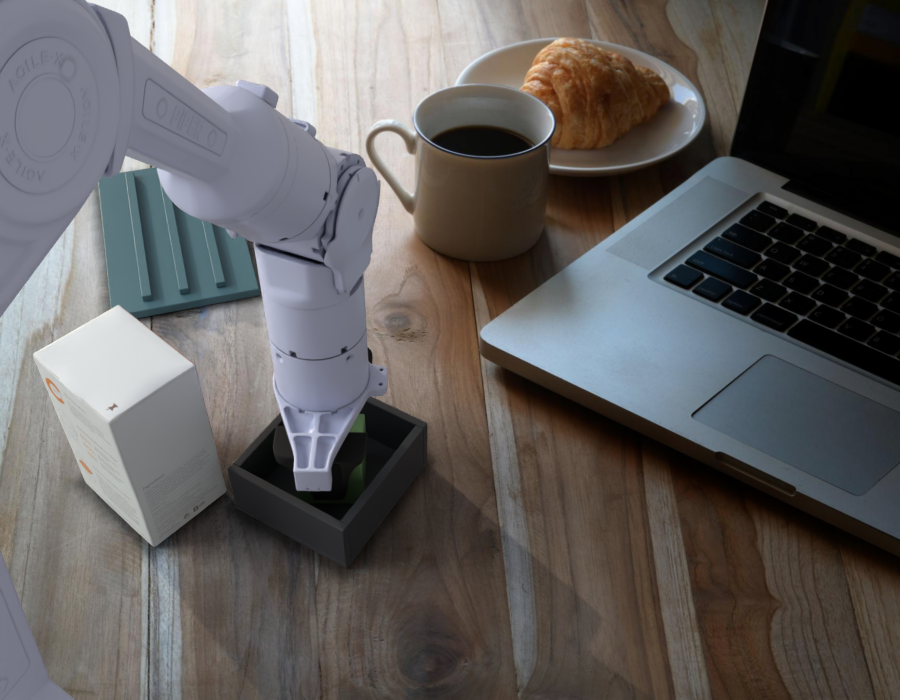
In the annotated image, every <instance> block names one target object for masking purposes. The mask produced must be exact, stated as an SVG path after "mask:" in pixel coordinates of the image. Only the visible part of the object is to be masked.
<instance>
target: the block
mask: <svg viewBox="0 0 900 700" xmlns="http://www.w3.org/2000/svg"><path fill="white" fill-rule="evenodd" d="M349 432H366V429H365V415H364V414H359V415H358V417H357V418H356V420H355V422H354V424H353V425H352V427H351V429H350V431H349ZM366 460H367V445H366V453H365V457H364V459H363V461H362V464H360V465H359V466H357V467H356V468H355V469H354V470H353V471H352V473H351V476H350V479H349V484H348V489H347V492H346V495H345V497H344V499H343V500H315V499H314V498H313V497H312V495H311V494H310V492H309V491H297V493H298V499H300V500H302V501H304V502H306V503H330V504H354V503H355V502H356V501H357V499H358V498H359V497H360V496H361V494H362V493H363V492H364V489H365V474H366Z"/></svg>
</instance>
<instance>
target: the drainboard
mask: <svg viewBox="0 0 900 700" xmlns="http://www.w3.org/2000/svg"><path fill="white" fill-rule="evenodd" d="M97 186H98V187H97V188H98V197H99V207H100V215H101V216H100V217H101V218H100V219H101V226H102V227H101V228H102V237H103V245H104V247H103V248H104V254H105V255H104V256H105V267H106V275H107V285H108V295H109V305H110V306H109V307H110V309H112V308H113V307H115V306H117V305H120V306H121V307H122V308H124V309H125V310H126V311H128V312H129V313H130V314H131V315H133V316H134V317H135V318H137V319H141V318H146V317H153V316H157V315H163V314H169V313H173V312H179V311H184V310H189V309H195V308H199V307H205V306H211V305H215V304H221V303H226V302H227V303H228V302H233V301H236V300H243V299H248V298H253V297H258V296H260V295H261V290H260V286H259V282H258V279H257V276H256V271H255V268H254V264H253V260H252V256H251V253H250V249H249V245H248V240H247V239H245V238H243V237H240V236H238V237H236V238H235V239H234V238H231V236H230V235H229V234H228V232H227V231H226V229H225V228H222V227H220V226H217V225H214V224H212V223H209V222H206V221H203V220H200V219H198V218H195V217H193V216H191V215H189V214H187V213H186V212H184V211H182V210H181V209H180V208H178V207H177V206H176V205H175V204H174V203H173V202H172V201H171V199H170V198H169V197H168V196H167V194H166V192H165V191H164V189H163V187H162V184H161V182H160V179H159V176H158V172H157V168H156V167H147V168H142V169H135V170H129V171H128V170H127V171H122V172H121V171H120V172H119V173H118V174H117V175H115V176H113V177H111V178H107V177H103V176H102V177H101V179H100V181H99V182H98V184H97Z"/></svg>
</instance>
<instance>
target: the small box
mask: <svg viewBox="0 0 900 700" xmlns="http://www.w3.org/2000/svg"><path fill="white" fill-rule="evenodd" d="M32 357H33V360H34V362H35V365H36V367H37V370H38V371H39V374H40V377H41V379H42V382H43V384H44V386H45V388H46V391H47V393H48V395H49V398H50V400H51V402H52V405H53V408H54V410H55V412H56V415H57V417H58V420H59V422H60V424H61V427H62V429H63V432H64V434H65V436H66V438H67V441H68V443H69V445H70V448H71V450H72V453H73V455H74V459H75V460H76V462H77V465H78V468H79V470H80V472H81V475H82V477H83V479H84V482H85V484H86V485H87V486H88V487H89V488H90V489H91V490H92V491H93V492H95V493H96V495H97V496H98V497H100V498H101V499H102V500H103V501H104V502H105V503H106V504H107V505H108V506H109V507H110V508H111V509H112V510H113V511H114V512H115V513H116V514H117V515H118V516H119V517H121V518H122V519H123V520H124V521H125V522H126V523H127V524H128V525H129V526H130V527H131V528H132V529H133V530H134V531H135V532H136V533H137V534H138V535H140V536H141V538H143V539H144V540H145V541H146V542H147V543H148V544H149V545H150V546H152V547H154V548H156V547H157V546H159V545H160V544H161V543H162V542H164V541H165V540H166V539H167V538H169V537H170V536H172V535H173V534H174V533H175V532H177V531H178V530H179V529H181V528H183V526H184V525H186V524H187V523H189V522H190V521H191V520H192V519H193V518H195V517H196V516H197V515H199V514H200V513H201V512H202V511H204V510H205V509H206V508H207V507H209V506H210V505H211V504H212V503H214V502H215V501H216V500H218V499H219V498H221V496H223V495H224V494H225V493H226V492H228V491H227V490H228V489H227V485H226V481H225V477H224V473H223V469H222V465H221V462H220V458H219V453H218V450H217V445H216V442H215V438H214V434H213V430H212V426H211V425H212V424H211V422H210V417H209V415H208V414H209V413H208V410H207V406H206V402H205V399H204V395H203V390H202V387H201V383H200V379H199V374H198V370H197V365H196V363H194V361H192V360H190V359H189V358H188V357H186V356H185V355H184V354H183V353H181V352H180V351H179V350H177V349H176V348H175V347H174V346H173V345H171V344H170V343H168V342H167V341H166V340H165V339H163V338H162V337H160V335H158V334H157V333H156V332H155V331H153V330H152V329H151V328H149V327H148V326H147V325H146V324H144V323H143V322H142V321H140V319H139V318H135V317H134V316H133V315H131V314H130V313H129V312H128V311H126V310H125V309H124V308H122V307H121V306H120V305H117V306H115V307H113V308H112V309H111V308H110V309H108V310H106V311H105V312H103V313H101V314H98V316H96V317H94V318H92V319H91V320H89V321H87V322H85V323H84V324H82V325H80V326H79V327H77V328H75V329H74V330H72V331H70V332H69V333H67V334H65V335H63V336H61V337H60V338H58V339H56V340H54V341H53V342H51V343H49V344H48V345H46V346H44V347H42V348H41V349H38V350H37V351H35V352H33V354H32Z"/></svg>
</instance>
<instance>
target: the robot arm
mask: <svg viewBox="0 0 900 700" xmlns="http://www.w3.org/2000/svg"><path fill="white" fill-rule="evenodd" d="M279 97H280V96H279V94H278V93H277V92H275V91H274V90H273V89H271V87H269V86H267V85H265V84H261V83H256V82H252V81H247V80H244V79H237V81H235V85H229V84H217V85H210V86H207V87H204V88H203V87H202V88H199V87H197V86H196V85H194V84H193V83H192V82H191V81H189V80H188V79H187V78H186V77H184V76H183V75H182V74H181V73H179V72H178V71H177V70H175V69H174V68H173V67H172V66H170V65H169V64H168V63H167V62H165V61H164V60H163V59H161V58H160V57H159V56H157V55H156V54H155V53H154V52H153V51H151V50H150V49H149V48H147V47H146V46H145V45H144V44H142V43H141V42H139V40H137V39H136V38H135V37H133V36H132V35H131V31H130V27H129V22H128V20H127V18H126V16H124V14H122V13H120V12H117V11H115V10H112V9H110V8H107V7H104V6H102V5H99V4H96V3H93V2H90V1H87V0H0V318H2V316H3V315H4V313H6V311H7V310H8V308H9V307H10V305H11V304H12V302H14V300H15V299H16V297H17V296H18V295H19V293H20V292H21V290H22V289H24V286H25V285H26V284H27V283H28V282H29V280H30V279H31V277H32V276H33V274H34V273H35V272H36V270H37V269H38V268H39V266H40V265H41V263H42V262H43V261H44V260H45V258H46V257H47V256H48V254H49V253H50V251H51V250H52V249H53V247H54V246H55V245H56V243H57V242H58V241H59V239H60V238H61V237H62V235H63V234H64V233H65V231H66V230H67V228H68V227H69V226H70V224H71V223H72V222H73V220H74V219H75V218H76V217H77V215H78V214H79V212H80V211H81V210H82V208H83V207H84V205H85V204H86V203H87V201H88V199H89V197H90V196H91V195H92V193H93V191H94V190H95V189H96V187H97V186H98V182H99V181H100V179H101V177H102V176H103V177H107V178H111V177H113V176H115V175H117V174H118V173H121V171H122V168H123V165H124V161H125V157H127V158H130V159H133V160H135V161H138V162H140V163H143V164H145V165H148V166H151V167H152V168H154V167H156V168H157V172H158V176H159V179H160V182H161V184H162V187H163V189H164V191H165V192H166V194H167V196H168V197H169V198H170V199H171V201H172V202H173V203H174V204H175V205H176V206H177V207H178V208H180V209H181V210H182V211H184V212H186V213H187V214H189V215H191V216H193V217H195V218H198V219H200V220H203V221H206V222H209V223H212V224H214V225H217V226H220V227H222V228H225V229H226V231H227V232H228V234H229V235H230V236H231V238H234V239H235V238H236V237H238V236H240V237H243V238H245V239H246V241H249V242H252V243H253V249H254V254H255V255H254V256H255V260H256V266H257V267H256V268H257V274H258V281H259V285H260V286H259V288H260V294H261V299H262V305H263V310H264V317H265V323H266V330H267V335H268V343H269V348H270V349H269V350H270V356H271V361H272V367H273V374H272V388H273V393H274V397H275V400H276V403H277V406H278V410H279V413H281V416H282V419H283V422H284V426H276V429H275V436H274V442H273V451H274V456H275V458H276V461H277V463H279V464H280V465H283V466H285V467H287V468H289V469H291V470H292V471H294V477H295V484H296V490H297V491H309V492H310V494H311V495H312V497H313V498H314V499H315V500H343V499H344V497H345V495H346V492H347V489H348V484H349V479H350V476H351V473H352V471H353V470H354V469H355V468H356V467H357V466H359V465H360V464H362V461H363V459H364V457H365V453H366V444H367V432H349V431H350V429H351V427H352V425H353V424H354V422H355V420H356V418H357V417H358V415H359V413H360V411H361V409H362V408H363V406H364V404H365V402H366V401H367V399H368V398H369V397H382V396H384V395H385V394H387V392H388V386H389V369H388V367H386V366H385V365H382V364H374V363H373V360H374V357H373V352H372V351H373V350H371V349H370V347H368V331H367V329H368V328H367V311H366V309H367V308H366V289H365V273H364V272H365V271H366V270H367V269H368V267H369V266H370V264H371V260H372V259H371V258H372V257H371V256H372V254H373V252H374V251H373V233H374V227H375V222H376V218H377V215H378V210H379V207H380V199H381V180H380V179H378V177H377V174H376V172H375V171H374V169H373V168H371V167H368V166H367V164H366V161H365V159H364V158H363V157H362V156H361V154H358V153H355V152H351V151H347V150H343V149H339V148H336V147H333V146H332V147H331V146H328V145H325V144H324V143H323V142H321V140H320V139H317V138H316V135H317V129H316V127H315V126H314V125H313V124H311V123H310V122H309V121H305V120H301V119H298V118H294V117H287V116H286V115H285V114H283V113H282V112H280V111H279V110H277V106H278V102H279ZM40 652H41V651H40V649H39V647H38V645H37V642H36V639H35V636H34V634H33V631H32V628H31V627H30V623H29V621H28V619H27V616H26V614H25V610H24V607H23V605H22V603H21V600H20V598H19V595H18V592H17V590H16V586H15V585H14V582H13V580H12V577H11V573H10V571H9V569H8V566H7V563H6V561H5V558H4V556H3V554H2V550H1V549H0V700H76V699H75V698H74V697H73V696H72V695H70V694H69V693H67V692H66V691H65V690H64V689H62V688H61V687H60V686H59V685H58V684H57V683H55V682H54V680H52V679H51V677H50V675H49V673H48V671H47V667H46V666H45V663H44V660H43V658H42V655H41V653H40Z"/></svg>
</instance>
